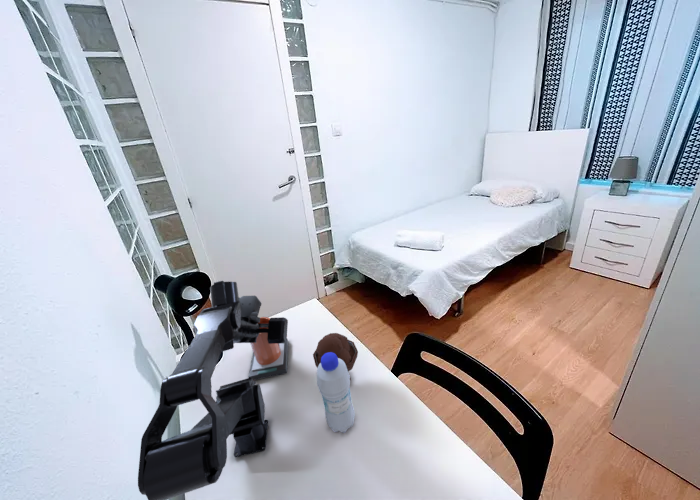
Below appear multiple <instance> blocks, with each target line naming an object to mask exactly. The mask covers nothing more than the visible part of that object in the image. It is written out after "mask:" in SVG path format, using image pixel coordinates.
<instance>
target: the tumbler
mask: <svg viewBox="0 0 700 500" xmlns="http://www.w3.org/2000/svg"><path fill="white" fill-rule="evenodd" d="M270 318H271V317H267V316H262V317H260V323H258V324H266V323H269V320H270ZM262 328H263V327H262ZM262 328H260V329H262ZM265 328H266V327H265ZM267 338H268V333H259V335H258V337H257V341H256V343H249V344H250V346H251V349H252V353H253V352H254V355H255V358H256V360H257V362H258V363H259V364H261V365H268V364H271V363H273V362H275V361H276V360H277V359H278V358H279V357H280V355H281V349H280V345H279V344H269V343H268V340H267Z"/></svg>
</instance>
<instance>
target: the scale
mask: <svg viewBox="0 0 700 500" xmlns="http://www.w3.org/2000/svg"><path fill="white" fill-rule="evenodd" d="M279 345H280V349H281V355H280V357H279V358H278V359H277V360H276V361H275V362H273V363H271V364H268V365H261V364H259V363H258V362H257V360H256V358H255V355H254V352H253V351H252V356H251V361H250V367H249V372H248V375H247V376H248V378H251V377H252V380H255V381H257V380H261V379H265V378H271V377H275V376H280V375H285V374H288V359H289V358H288V355H289V340H288V338H287V341H286V342H285V343H281V344H279Z"/></svg>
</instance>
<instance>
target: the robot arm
mask: <svg viewBox="0 0 700 500" xmlns="http://www.w3.org/2000/svg"><path fill="white" fill-rule="evenodd" d="M209 290H210V292H209V293H210V300H211V301H210V303H211V306H210V307H207V308H203V309H201V311H200V312H199V314H197V317H196V319H195V321H194V323H193V326H192V327H193V328H192V330H193V334H194V335H195V336H194V338H193V339H192V341H191V342H190V344H189V345H188V347H187V349H186V351H184V353H183V355H182V357H181V358H180V360H179V362H178V363H177V365H176V366H175V368H174V370H173V371H172V373H171V374H170V375H169V376H168V377H165V378H164V379H163V380H162V382H161V385H160V392H159V403H158V404H159V405H158V407H157V409H156V410H155V412H154V414H153V416H152V418H151V420H150V421H149V423H148V425H147V427H146V429H145V430H144V432H143V434H142V437H141V439H140V440H141V441H140V451H139V461H138V471H137V472H138V473H137V488H138V491H139V493H140V494H141V495H143V496H146V499H147V500H170V499H173V498H176V497H179V496H182V495H184V494H187V493H190V492H193V491H195V490H198V489H201V488H205V487H207V486H210V485H212V484H215V483H217V481H218V480H219V479H220V477H221V475H222V473H223V469H224V468H225V466H226V464H227V458H228V445H227V441H228V440H227V439H228V438H229V436H231V435H232V436H233V439H234V442H235V446H234V451H233V457H234V458H239V457H243V456H249V455H253V454H256V453H260V452H264V451H265V450H266V448H267V440H268V439H267V438H268V429H269V420H268V419H265V417H266V416H265V415H266V413H265V411H266V409H265V408H266V404H265V400H264V397H263V392H262V388H261V385H260V384H259V383H257V380H252V377H251V378H249V377H248V378H244V379H241V380H237V381H234V382H231V383H227V384H223V385H220V386H219V389H217V390H215V393H216V397H215V399H214V397H213V396H212V377H213V374H214V371H215V369H216V367H217V364H218V362H219V359H220V356H221V354H222V353H223V352H226V351H229V350H232V349H234V347H235V345H234V344H250V343H256V341H257V337H258V335H259V333H268V338H267V340H268V343H269V344H281V343H285V342H286V341H287V339H288V323H289V319H288V318H286V317H283V316H282V317H269V318H270V320H269V323H266V324H258V323H260V318H261V317H259V314H260V310H261V307H262V301H261V300H260V299H259V298H258V297H257V296H256V295H242V296H240V297H239V290H238V283H237V281H224V280H220V281H215V282H213V284H212V285H210V287H209ZM262 327H263V328H262ZM265 327H266V328H265ZM260 328H262V329H260ZM198 400H200V402H201V404H202V405H203V406H204V408H205V410H206V411H207V413H206V414H205V416H204V417H202V418H201V419H200V420H199V421H198V422H197V423H196V424H195V425H194V426H193V427H192V428H191V429H189V430H187V431H185V432H182V433H179V434H176V435H173V436H171V437H168V438H166V439H164V440H163V435H164V433H165V431H166V429H167V428H168V426H169V423H170V422H171V420H172V418H173V417H174V414H175V412H176V410H177V408H178V406H180V405H184V404H187V403H191V402H194V401H198Z"/></svg>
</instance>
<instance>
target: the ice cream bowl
mask: <svg viewBox="0 0 700 500" xmlns="http://www.w3.org/2000/svg"><path fill="white" fill-rule="evenodd" d="M328 352H332V353H335V354H336V355H337V357H338V358H340V359H342V360H343V361H344V362H345V364H346V367H347V370H348V372H350V371H352V370H353V368H354V366H355V363H356V362H357V361H356V360H357V359H358V354H359V351H358V348H357V346H356V344H355V342H354V341H352V340H350V339H348V337H347V336H345V335H343V334H340V333H338V332H332V333H331V332H330V333H328V334H326V335H324V336H323V337H322V338H321V339H320V340H319V341H318V342H317V346H316V348H315V350H314V352H313V354H312V356H313V361H314V365H315V367H316V369H317V368H318V366H319V364H320V363H321V358H322V356H323V355H324V354H325V353H328ZM350 381H351V377H350Z"/></svg>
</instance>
